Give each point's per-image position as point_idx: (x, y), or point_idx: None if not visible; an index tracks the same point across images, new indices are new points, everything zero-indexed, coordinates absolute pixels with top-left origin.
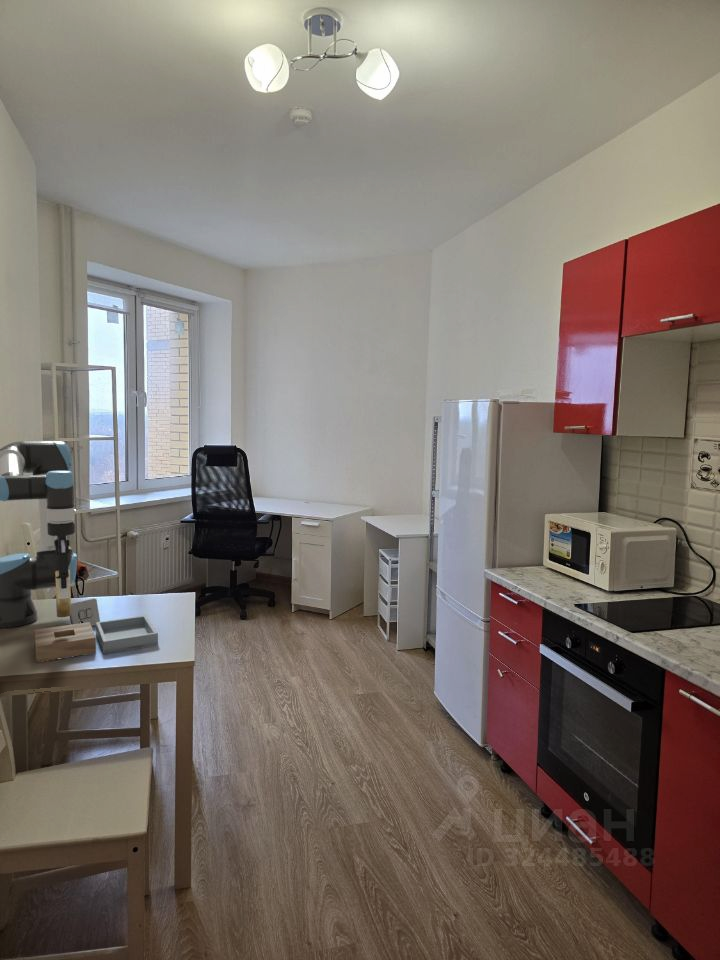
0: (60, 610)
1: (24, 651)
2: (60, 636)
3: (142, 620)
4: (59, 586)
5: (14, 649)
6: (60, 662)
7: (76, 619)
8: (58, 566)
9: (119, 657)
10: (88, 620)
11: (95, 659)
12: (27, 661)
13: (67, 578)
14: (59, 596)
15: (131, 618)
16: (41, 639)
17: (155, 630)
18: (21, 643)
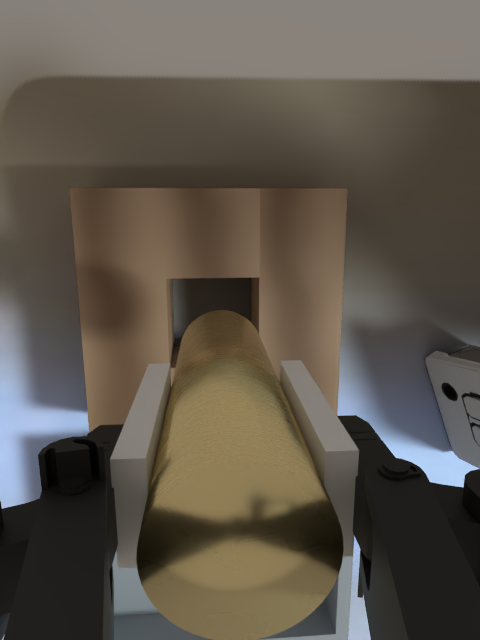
0: (182, 342)
1: (265, 146)
2: (255, 301)
3: (331, 615)
4: (132, 416)
5: (314, 104)
6: (59, 283)
7: (462, 380)
8: (380, 543)
9: (23, 488)
10: (461, 422)
11: (37, 408)
12: (129, 156)
13: (122, 546)
14: (145, 374)
15: (337, 590)
16: (170, 216)
17: None
18: (381, 136)
